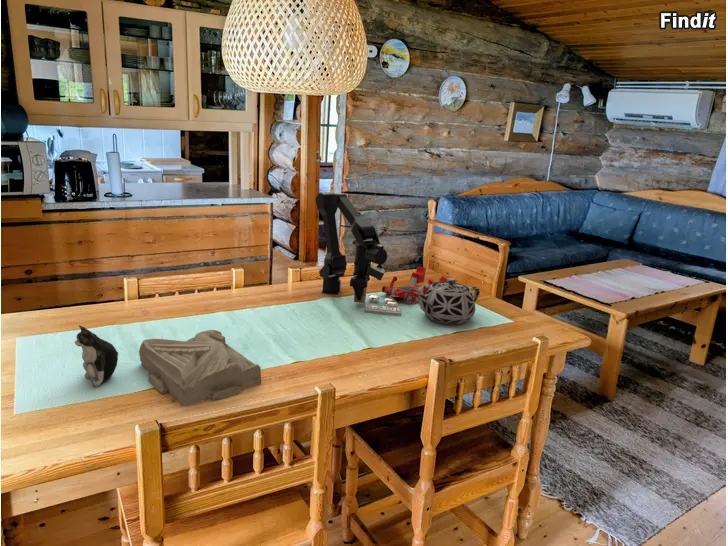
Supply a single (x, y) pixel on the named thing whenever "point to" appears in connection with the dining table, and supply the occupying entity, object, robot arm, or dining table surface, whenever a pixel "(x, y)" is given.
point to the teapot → (449, 302)
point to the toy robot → (411, 286)
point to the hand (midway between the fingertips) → (359, 298)
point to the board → (383, 309)
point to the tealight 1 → (374, 298)
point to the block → (361, 297)
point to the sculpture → (197, 368)
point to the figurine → (96, 356)
